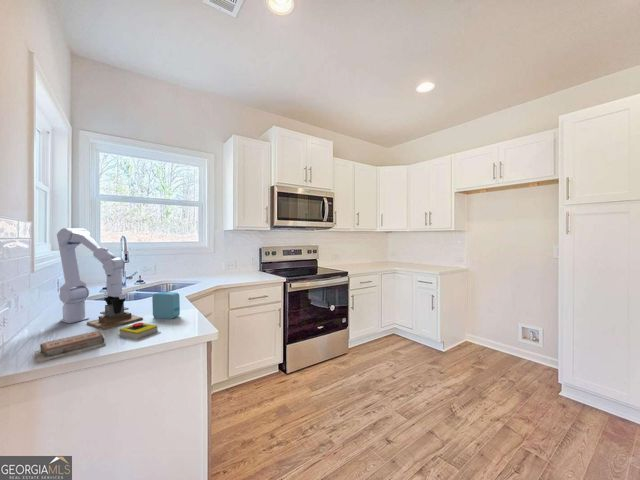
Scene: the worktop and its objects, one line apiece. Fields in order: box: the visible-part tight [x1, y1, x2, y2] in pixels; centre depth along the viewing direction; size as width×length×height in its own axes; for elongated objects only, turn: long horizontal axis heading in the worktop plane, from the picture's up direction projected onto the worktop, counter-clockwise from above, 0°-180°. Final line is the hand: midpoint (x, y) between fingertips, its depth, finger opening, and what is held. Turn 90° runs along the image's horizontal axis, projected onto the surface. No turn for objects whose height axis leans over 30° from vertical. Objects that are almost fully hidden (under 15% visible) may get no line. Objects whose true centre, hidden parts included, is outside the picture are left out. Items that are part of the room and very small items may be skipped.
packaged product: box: [34, 330, 107, 364], centre depth 99 cm, size 18×5×10 cm
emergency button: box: [117, 322, 162, 341], centre depth 115 cm, size 9×4×15 cm
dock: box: [86, 310, 144, 331], centre depth 130 cm, size 16×16×3 cm
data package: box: [151, 291, 181, 320], centre depth 137 cm, size 12×4×12 cm, turn 77°
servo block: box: [99, 302, 129, 318], centre depth 130 cm, size 4×10×7 cm, turn 150°
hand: (115, 312), depth 130 cm, fingers closed on servo block, 4 cm apart
